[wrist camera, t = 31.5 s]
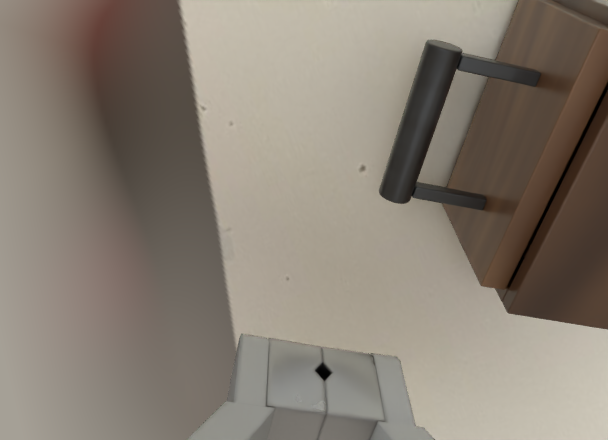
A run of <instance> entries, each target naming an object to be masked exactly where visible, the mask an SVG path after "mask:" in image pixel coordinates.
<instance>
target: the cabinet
mask: <svg viewBox="0 0 608 440" xmlns="http://www.w3.org/2000/svg"><path fill="white" fill-rule="evenodd" d="M552 1H554V2H557V3H559V4H561V5H563V6H565V7H568V8H570V9H572V10H574V11H577V12H579V13H581V14H583V15H586V16H588V17H590V18H592V19H595V20H597V21H599V22H601V23H603V24H606V25H608V0H552ZM495 290H496V291H497V293H498V295H499V297H500V299H501V301H502V302H503V305H504V307H505V309H506V311H507V313H509V314H515V315H521V316H528V317H534V318H540V319H546V320H552V321H559V322H565V323H571V324H577V325H583V326H589V327H596V328H602V329H608V90H607V92H606V94H605V96H604V98H603V100H602V102H601V104H600V106H599V108H598V110H597V113H596V115H595V117H594V119H593V121H592V123H591V125H590V127H589V129H588V131H587V133H586V135H585V137H584V139H583V141H582V143H581V145H580V147H579V149H578V151H577V153H576V155H575V157H574V159H573V161H572V163H571V165H570V167H569V169H568V171H567V173H566V175H565V177H564V179H563V181H562V183H561V185H560V187H559V189H558V191H557V193H556V195H555V197H554V199H553V201H552V203H551V205H550V207H549V209H548V211H547V213H546V215H545V217H544V219H543V221H542V223H541V225H540V227H539V229H538V231H537V233H536V235H535V238H534V240H533V242H532V244H531V246H530V248H529V250H528V252H527V254H526V256H525V258H524V257H523V255H522V257H521V259H520V261H519V263H518V265H517V267H516V269H515V271H514V273H513V275H512V277H511V279H510V281H509V283H508V285H507V287H506V289H505V290H502V289H496V288H495Z"/></svg>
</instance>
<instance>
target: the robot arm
mask: <svg viewBox="0 0 608 440" xmlns="http://www.w3.org/2000/svg"><path fill="white" fill-rule="evenodd" d="M187 440H435V439H434V438H433V437H432V436H431V435H430V434H429V433H428V432H427V431H426V430H425V428H423V427H417V426H416V425H415V420H414V416H413V412H412V408H411V404H410V400H409V395H408V391H407V387H406V383H405V379H404V375H403V371H402V366H401V362H400V360H399V359H398V357H396V356H389V355H381V354H373V353H371V354H369V353H363V352H356V351H349V350H342V349H335V348H328V347H320V346H314V345H308V344H302V343H297V342H291V341H285V340H279V339H273V338H264V337H258V336H253V335H247V334H241V336H240V338H239V343H238V348H237V352H236V357H235V362H234V367H233V371H232V376H231V381H230V386H229V392H228V397H227V401H225V402H224V403H223V404H222V405H221V406H220V407H219V408H218V409H217V410H216V411H215V412H214V413H213V414H212V415H211V416H210V417H209V418H208V419H207V420H206V421H205V422H204V423H203V424H202V425H201V426H200V427H199V428H198V429H197V430H196V431H195V432H194V433H193V434H192V435H191V436H190V437H189V438H188V439H187Z"/></svg>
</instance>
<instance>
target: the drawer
mask: <svg viewBox="0 0 608 440" xmlns="http://www.w3.org/2000/svg"><path fill="white" fill-rule="evenodd" d="M456 69H458V70H460V71H464V72H469V73H473V74H478V75H483V76H487V77H489V79H488V81H487V84H486V87H485V89H484V92H483V94H482V97H481V100H480V102H479V105H478V107H477V110H476V113H475V115H474V118H473V120H472V123H471V126H470V128H469V131H468V133H467V136H466V139H465V141H464V144H463V146H462V149H461V152H460V154H459V157H458V159H457V162H456V165H455V167H454V170H453V172H452V175H451V178H450V180H449V183H448V185H447V188H446V187H440V186H435V185H430V184H425V183H419V182H417V179H418V176H419V174H420V171H421V168H422V165H423V162H424V159H425V157H426V154H427V151H428V148H429V145H430V142H431V140H432V137H433V134H434V131H435V128H436V125H437V123H438V120H439V117H440V114H441V111H442V108H443V106H444V103H445V100H446V97H447V94H448V91H449V89H450V86H451V83H452V80H453V77H454V74H455V72H456ZM607 90H608V25H606V24H603V23H601V22H599V21H597V20H595V19H592V18H590V17H588V16H586V15H583V14H581V13H579V12H577V11H574V10H572V9H570V8H568V7H565V6H563V5H561V4H559V3H557V2H554V1H552V0H519V1H518V4H517V6H516V9H515V11H514V14H513V17H512V19H511V22H510V24H509V27H508V30H507V32H506V35H505V37H504V40H503V43H502V45H501V48H500V50H499V53H498V56H497V58H496V60H491V59H487V58H482V57H478V56H473V55H469V54H464V53H462V49H460V48H459V47H457V46H455V45H452V44H450V43H446V42H443V41H438V40H427V42H426V44H425V47H424V50H423V53H422V56H421V59H420V63H419V66H418V69H417V72H416V75H415V78H414V81H413V85H412V88H411V91H410V94H409V97H408V100H407V103H406V106H405V110H404V113H403V116H402V119H401V122H400V125H399V128H398V132H397V135H396V138H395V141H394V144H393V147H392V150H391V154H390V157H389V160H388V163H387V166H386V169H385V172H384V176H383V179H382V182H381V185H380V188H379V193H380V195H381V196H382V197H383V198H385V199H386V200H389V201H391V202H394V203H400V204H404V203H407V202H409V201H410V199H411V196H412V197H413V198H417V199H423V200H428V201H433V202H439V203H442V205H443V207H444V209H445V212H446V214H447V216H448V218H449V220H450V222H451V224H452V226H453V228H454V230H455V232H456V235H457V237H458V239H459V241H460V243H461V245H462V247H463V249H464V251H465V253H466V256H467V258H468V260H469V262H470V264H471V266H472V268H473V270H474V272H475V274H476V276H477V279H478V281H479V283H480V285H481V286H484V287H490V288H496V289H502V290H505V289H506V287H507V285H508V283H509V281H510V279H511V277H512V275H513V273H514V271H515V269H516V267H517V265H518V263H519V261H520V259H521V257H522V255H523V257H524V258H525V256H526V254H527V252H528V250H529V248H530V246H531V244H532V242H533V240H534V238H535V235H536V233H537V231H538V229H539V227H540V225H541V223H542V221H543V219H544V217H545V215H546V213H547V211H548V209H549V207H550V205H551V203H552V201H553V199H554V197H555V195H556V193H557V191H558V189H559V187H560V185H561V183H562V181H563V179H564V177H565V175H566V173H567V171H568V169H569V167H570V165H571V163H572V161H573V159H574V157H575V155H576V153H577V151H578V149H579V147H580V145H581V143H582V141H583V139H584V137H585V135H586V133H587V131H588V129H589V127H590V125H591V123H592V121H593V119H594V117H595V115H596V113H597V110H598V108H599V106H600V104H601V102H602V100H603V98H604V96H605V94H606V92H607Z"/></svg>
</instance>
